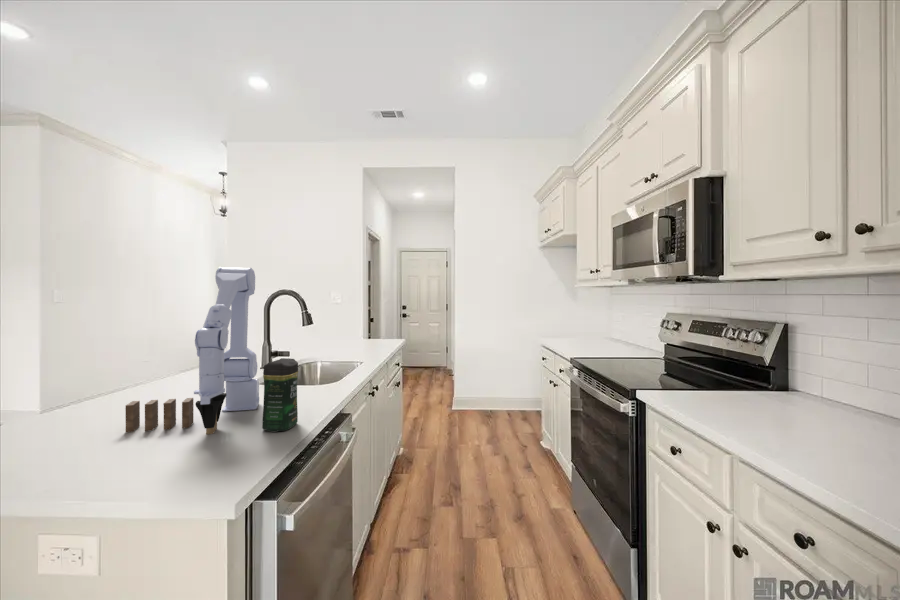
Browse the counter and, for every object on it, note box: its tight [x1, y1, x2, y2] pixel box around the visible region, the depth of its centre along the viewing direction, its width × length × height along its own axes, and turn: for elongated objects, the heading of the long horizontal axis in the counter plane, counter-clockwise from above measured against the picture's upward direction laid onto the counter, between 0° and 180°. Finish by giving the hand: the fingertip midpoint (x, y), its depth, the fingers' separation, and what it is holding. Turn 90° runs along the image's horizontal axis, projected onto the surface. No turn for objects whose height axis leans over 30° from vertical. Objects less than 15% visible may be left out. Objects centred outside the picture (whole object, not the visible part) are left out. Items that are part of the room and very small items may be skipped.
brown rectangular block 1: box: [144, 399, 159, 432], centre depth 113 cm, size 2×4×7 cm, turn 18°
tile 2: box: [181, 397, 194, 429], centre depth 116 cm, size 2×4×7 cm, turn 18°
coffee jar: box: [261, 357, 299, 433], centre depth 115 cm, size 10×8×19 cm
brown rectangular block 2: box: [163, 398, 177, 430], centre depth 115 cm, size 2×4×7 cm, turn 18°
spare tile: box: [205, 415, 218, 435], centre depth 111 cm, size 2×4×7 cm, turn 18°
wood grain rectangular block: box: [125, 400, 141, 433], centre depth 112 cm, size 2×4×7 cm, turn 18°
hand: (211, 424), depth 111 cm, fingers closed on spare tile, 4 cm apart
